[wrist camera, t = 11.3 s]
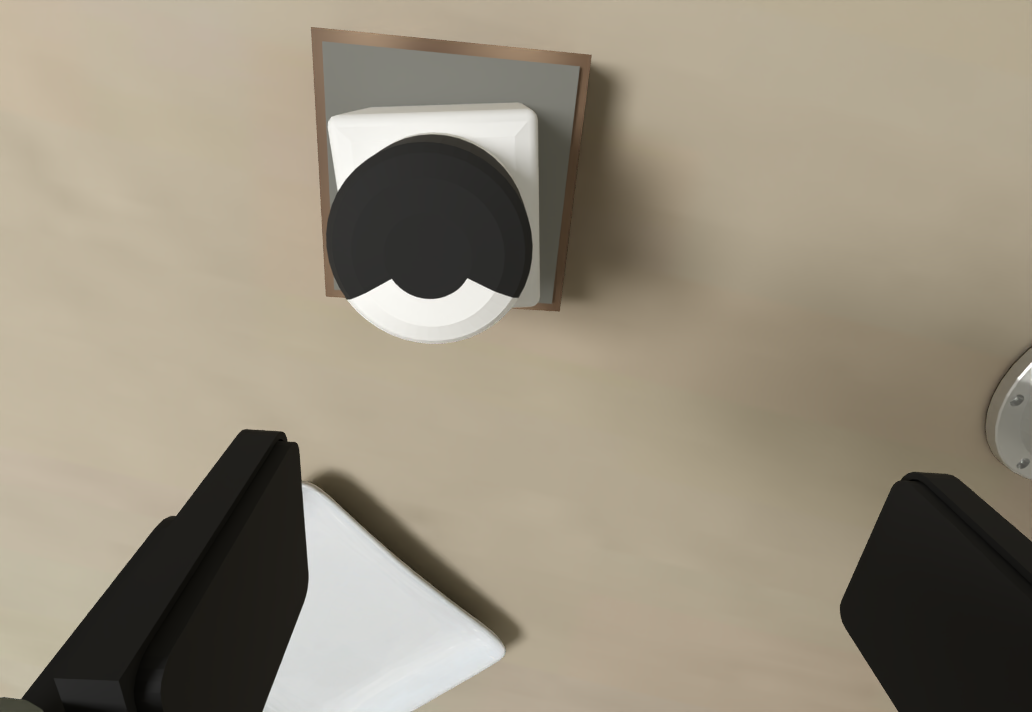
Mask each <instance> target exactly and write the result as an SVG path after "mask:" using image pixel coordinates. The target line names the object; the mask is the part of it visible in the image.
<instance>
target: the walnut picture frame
mask: <svg viewBox="0 0 1032 712" xmlns="http://www.w3.org/2000/svg"><path fill="white" fill-rule="evenodd" d="M311 35H312V53H313V71H314V89H315V107H316V125H317V143H318V161H319V179H320V197H321V215H322V233H323V251H324V269H325V287H326V296H327V297H342V298H346V297H345V296H344V294H343V293H342V291H341V290H340V288H339V286H338V284H337V282H336V280H335V278H334V276H333V273H332V270H331V267H330V264H329V259H328V254H327V248H326V230H327V221H328V216H329V213H330V209H331V206H332V203H333V201H334V199H335V196H336V194H337V192H338V190H337V184H336V177H335V171H334V164H333V158H332V152H331V145H330V139H329V132H328V121H329V120H330V118H331V117H332V116H335V115H339V114H343V113H348V112H352V111H356V110H361V109H365V108H369V107H391V106H421V105H452V104H482V103H513V102H518V103H522V104H523V105H525V106H527V107H528V108H530V109H531V110H533V111H534V112H535V113H536V115H537V118H538V167H539V254H540V299H539V302H538V303H537V304H536V305H535V306H532V307H515V308H514V309H530V310H546V311H560V304H561V296H562V288H563V280H564V272H565V264H566V256H567V248H568V240H569V232H570V224H571V216H572V208H573V200H574V192H575V184H576V176H577V168H578V160H579V152H580V144H581V136H582V128H583V120H584V112H585V104H586V96H587V88H588V80H589V72H590V64H591V56H592V55H587V54H577V53H567V52H557V51H547V50H537V49H526V48H516V47H506V46H496V45H486V44H476V43H466V42H456V41H446V40H436V39H426V38H416V37H406V36H396V35H385V34H375V33H365V32H355V31H345V30H335V29H325V28H315V27H311Z"/></svg>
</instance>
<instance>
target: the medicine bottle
mask: <svg viewBox="0 0 1032 712" xmlns="http://www.w3.org/2000/svg"><path fill="white" fill-rule="evenodd" d="M328 132H329V139H330V145H331V152H332V158H333V164H334V171H335V177H336V184H337V190H338V192H337V194H336V196H335V199H334V201H333V203H332V206H331V209H330V213H329V216H328V221H327V230H326V248H327V254H328V259H329V264H330V267H331V270H332V273H333V276H334V278H335V280H336V282H337V284H338V286H339V288H340V290H341V291H342V293H343V294H344V296H345V297H346V299H347V300H348V302H349V303H350V304H351V305H352V306H353V307H354V309H355V310H356V311H357V312H358V313H359V314H361V315H362V316H363V317H364V318H365V319H366V320H367V321H369V322H370V323H372V324H373V325H375V326H376V327H377V328H379V329H381V330H383V331H385V332H387V333H389V334H391V335H393V336H396V337H399V338H401V339H405V340H409V341H413V342H418V343H427V344H443V343H450V342H457V341H460V340H464V339H467V338H470V337H472V336H475V335H477V334H480V333H481V332H483V331H485V330H487V329H488V328H490V327H492V326H493V325H494V324H495V323H497V322H498V321H499V320H500V319H502V318H503V317H504V316H505V315H506V314H507V312H508V311H509V310H510V309H511V308H515V307H532V306H535V305H536V304H537V303H538V302H539V299H540V254H539V167H538V118H537V115H536V113H535V112H534V111H533V110H531V109H530V108H528V107H527V106H525V105H523V104H522V103H518V102H513V103H482V104H452V105H421V106H391V107H369V108H365V109H361V110H356V111H352V112H348V113H343V114H339V115H335V116H332V117H331V118H330V120H329V121H328Z"/></svg>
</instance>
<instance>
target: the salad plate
mask: <svg viewBox="0 0 1032 712" xmlns="http://www.w3.org/2000/svg"><path fill="white" fill-rule="evenodd" d="M302 493H303V506H304V519H305V532H306V545H307V558H308V571H309V582H308V590H307V594H306V598H305V601H304V604H303V607H302V609H301V612H300V615H299V617H298V620H297V623H296V625H295V628H294V630H293V633H292V636H291V638H290V641H289V644H288V646H287V649H286V651H285V654H284V657H283V659H282V662H281V664H280V667H279V670H278V672H277V675H276V678H275V680H274V683H273V685H272V688H271V691H270V693H269V696H268V699H267V701H266V704H265V706H264V709H263V712H412V711H414V710H416V709H417V708H419V707H421V706H423V705H424V704H426V703H428V702H429V701H431V700H433V699H434V698H436V697H438V696H440V695H441V694H443V693H445V692H446V691H448V690H450V689H452V688H453V687H455V686H457V685H459V684H460V683H462V682H464V681H466V680H468V679H469V678H471V677H473V676H475V675H476V674H478V673H480V672H481V671H483V670H485V669H486V668H488V667H490V666H491V665H493V664H495V663H496V662H497V661H499V660H501V659H502V658H503V657H504V655H505V653H506V649H505V646H504V644H503V642H502V641H501V640H500V639H499V637H498V636H497V635H496V634H495V633H494V632H493V631H492V630H491V629H489V628H488V627H487V626H485V625H484V624H483V623H482V622H480V621H479V620H477V619H476V618H475V617H473V616H472V615H471V614H469V613H468V612H467V611H465V610H464V609H462V608H461V607H460V606H458V605H457V604H456V603H454V602H453V601H452V600H450V599H449V598H448V597H446V596H445V595H444V594H443V593H441V592H440V591H439V590H438V589H436V588H435V587H434V586H433V585H431V584H430V583H429V582H427V581H426V580H425V579H424V578H422V577H421V576H420V575H419V574H418V573H416V572H415V571H414V570H413V569H411V568H410V567H409V566H408V565H406V564H405V563H404V562H403V561H402V560H400V559H399V558H398V557H397V556H395V555H394V554H393V553H392V552H391V551H390V550H389V549H387V548H386V547H385V546H384V545H383V544H382V543H381V542H380V541H378V540H377V539H376V538H375V537H374V536H373V535H372V534H370V533H369V532H368V531H367V530H366V529H365V528H364V527H363V526H362V525H361V524H359V523H358V522H357V521H356V520H355V519H354V518H353V517H352V516H351V515H350V514H349V513H348V512H346V511H345V510H344V509H343V508H342V507H341V506H340V505H339V504H338V503H337V502H336V501H335V500H334V499H332V498H331V497H330V496H329V495H328V494H327V493H326V492H324V491H323V490H322V489H321V488H319V487H318V486H316V485H314V484H312V483H309V482H306V481H302Z"/></svg>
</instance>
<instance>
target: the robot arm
mask: <svg viewBox="0 0 1032 712" xmlns="http://www.w3.org/2000/svg"><path fill="white" fill-rule="evenodd" d="M985 428H986V436H987V442H988V444H989V446H990V449H991V451H992V453H993V454H994V455H995V456H996V458H997V459H998V460H999V461H1000V462H1001V463H1002V464H1004V465H1005V466H1006V467H1008V468H1009V469H1010V470H1011V471H1013V472H1014V473H1016V474H1018V475H1020V476H1022V477H1024V478H1026V479H1030V480H1032V347H1031V348H1030V349H1029V350H1028V351H1027V352H1026V353H1025V354H1024V355H1023V356H1022V357H1021V358H1020V359H1019V360H1018V361H1017V362H1016V363H1015V364H1014V365H1013V366H1012V367H1011V368H1010V370H1009V371H1008V372H1007V374H1006V375H1005V376H1004V378H1003V379H1002V380H1001V382H1000V384H999V386H998V388H997V389H996V391H995V393H994V395H993V397H992V400H991V403H990V406H989V409H988V412H987V418H986V427H985ZM308 582H309V571H308V558H307V545H306V532H305V519H304V506H303V493H302V480H301V467H300V454H299V447H298V444H297V443H296V442H287V437H286V435H285V433H284V432H280V431H265V430H249V429H245V430H242V431H241V432H240V433H239V434H238V435H237V436H236V438H235V439H234V440H233V442H232V443H231V444H230V446H229V447H228V448H227V450H226V451H225V452H224V454H223V455H222V456H221V458H220V459H219V460H218V462H217V463H216V464H215V465H214V467H213V468H212V469H211V471H210V472H209V473H208V475H207V476H206V477H205V479H204V480H203V481H202V483H201V484H200V485H199V487H198V488H197V489H196V491H195V492H194V493H193V495H192V496H191V497H190V499H189V500H188V501H187V503H186V504H185V505H184V506H183V508H182V509H181V510H180V512H179V513H178V514H177V516H170V517H168V518H166V519H164V520H163V521H162V522H161V523H160V524H159V525H158V526H157V527H156V528H155V529H154V530H153V531H152V533H151V534H150V535H149V536H148V538H147V539H146V540H145V542H144V543H143V544H142V545H141V547H140V548H139V549H138V550H137V552H136V553H135V554H134V556H133V557H132V558H131V559H130V561H129V562H128V563H127V565H126V566H125V567H124V568H123V570H122V571H121V572H120V573H119V575H118V576H117V577H116V579H115V580H114V581H113V582H112V584H111V585H110V586H109V588H108V589H107V590H106V591H105V593H104V594H103V595H102V596H101V598H100V599H99V600H98V602H97V603H96V604H95V605H94V607H93V608H92V609H91V610H90V612H89V613H88V614H87V616H86V617H85V618H84V619H83V621H82V622H81V623H80V625H79V626H78V627H77V628H76V630H75V631H74V632H73V633H72V635H71V636H70V637H69V639H68V640H67V641H66V642H65V644H64V645H63V646H62V648H61V649H60V650H59V651H58V653H57V654H56V655H55V656H54V658H53V659H52V660H51V662H50V663H49V664H48V665H47V667H46V668H45V669H44V670H43V672H42V673H41V674H40V676H39V677H38V678H37V679H36V681H35V682H34V683H33V685H32V686H31V687H30V688H29V690H28V691H27V692H26V693H25V695H24V696H23V697H22V699H14V698H6V697H2V698H0V712H263V709H264V706H265V704H266V701H267V699H268V696H269V693H270V691H271V688H272V685H273V683H274V680H275V678H276V675H277V672H278V670H279V667H280V664H281V662H282V659H283V657H284V654H285V651H286V649H287V646H288V644H289V641H290V638H291V636H292V633H293V630H294V628H295V625H296V623H297V620H298V617H299V615H300V612H301V609H302V607H303V604H304V601H305V598H306V594H307V590H308ZM840 615H841V619H842V622H843V624H844V626H845V628H846V630H847V632H848V633H849V635H850V636H851V638H852V639H853V641H854V643H855V644H856V646H857V647H858V649H859V650H860V652H861V654H862V655H863V657H864V658H865V660H866V661H867V663H868V665H869V666H870V668H871V669H872V671H873V672H874V674H875V676H876V677H877V679H878V680H879V682H880V683H881V685H882V687H883V688H884V690H885V691H886V693H887V694H888V696H889V698H890V699H891V701H892V702H893V704H894V705H895V707H896V709H897V710H898V712H1032V542H1031V541H1030V540H1029V539H1028V538H1027V537H1026V536H1024V535H1023V534H1022V533H1021V532H1020V531H1019V530H1017V529H1016V528H1015V527H1014V526H1013V525H1012V524H1010V523H1009V522H1008V521H1007V520H1006V519H1005V518H1003V517H1002V516H1001V515H1000V514H999V513H998V512H996V511H995V510H994V509H993V508H992V507H991V506H989V505H988V504H987V503H986V502H985V501H984V500H982V499H981V498H980V497H979V496H978V495H977V494H975V493H974V492H973V491H972V490H971V489H970V488H968V487H967V486H966V485H965V484H964V483H963V482H961V481H960V480H959V479H958V478H956V477H954V476H953V475H948V474H938V473H922V472H912V473H908V474H907V475H905V476H904V477H903V478H902V480H901V481H898V482H896V483H895V484H894V485H893V487H892V488H891V490H890V493H889V495H888V497H887V499H886V502H885V504H884V506H883V508H882V511H881V513H880V515H879V517H878V520H877V522H876V524H875V526H874V529H873V531H872V533H871V535H870V538H869V540H868V542H867V544H866V547H865V549H864V551H863V553H862V556H861V558H860V560H859V562H858V565H857V567H856V569H855V571H854V574H853V576H852V578H851V580H850V583H849V585H848V587H847V589H846V592H845V594H844V596H843V598H842V601H841V604H840Z"/></svg>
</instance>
